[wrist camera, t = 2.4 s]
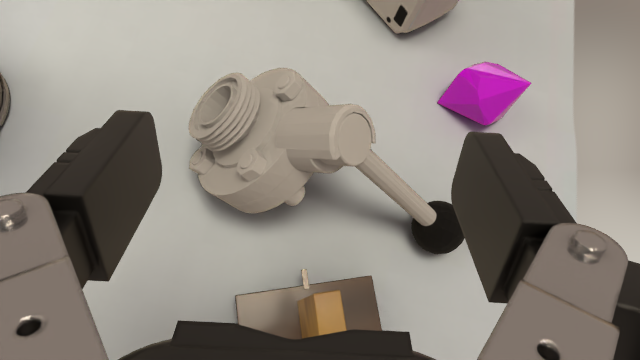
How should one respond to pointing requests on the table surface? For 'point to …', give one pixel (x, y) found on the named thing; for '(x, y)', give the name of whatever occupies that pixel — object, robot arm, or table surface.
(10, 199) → the robot arm
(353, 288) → the panel
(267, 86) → the valve
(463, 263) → the table surface
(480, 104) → the crystal
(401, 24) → the radio
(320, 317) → the tan wooden flat block
